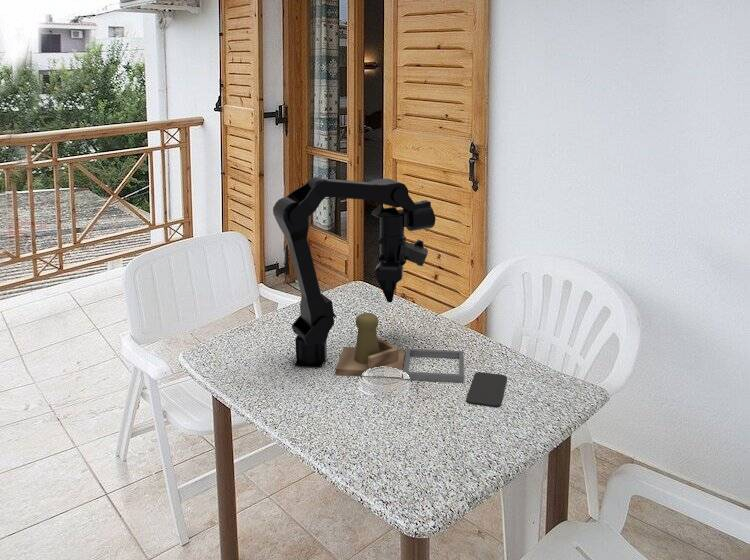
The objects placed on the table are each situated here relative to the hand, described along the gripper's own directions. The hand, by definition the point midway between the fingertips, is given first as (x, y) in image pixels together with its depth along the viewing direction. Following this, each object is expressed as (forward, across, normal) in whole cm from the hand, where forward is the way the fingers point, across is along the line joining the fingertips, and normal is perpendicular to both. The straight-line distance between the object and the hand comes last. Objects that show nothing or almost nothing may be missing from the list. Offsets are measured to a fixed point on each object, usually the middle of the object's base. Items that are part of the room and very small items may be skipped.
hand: (391, 295), depth 175 cm
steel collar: (+13, -12, -11) cm, 21 cm away
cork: (+12, -12, +5) cm, 17 cm away
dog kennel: (+13, -12, +4) cm, 18 cm away
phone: (+14, -21, -23) cm, 34 cm away
